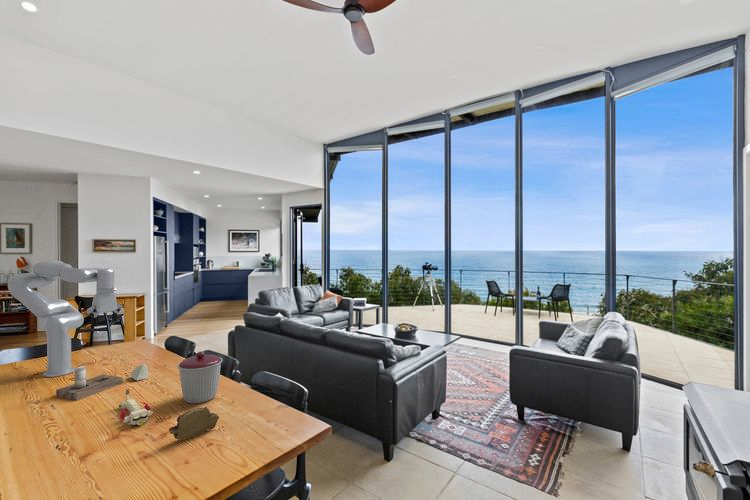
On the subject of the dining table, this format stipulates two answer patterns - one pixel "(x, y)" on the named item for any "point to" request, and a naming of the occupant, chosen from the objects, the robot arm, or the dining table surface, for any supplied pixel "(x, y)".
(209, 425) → the wooden carving
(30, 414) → the dining table surface
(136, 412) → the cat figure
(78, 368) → the grey domed cylinder
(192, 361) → the canister
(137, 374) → the seashell
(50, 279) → the robot arm
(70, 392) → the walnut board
